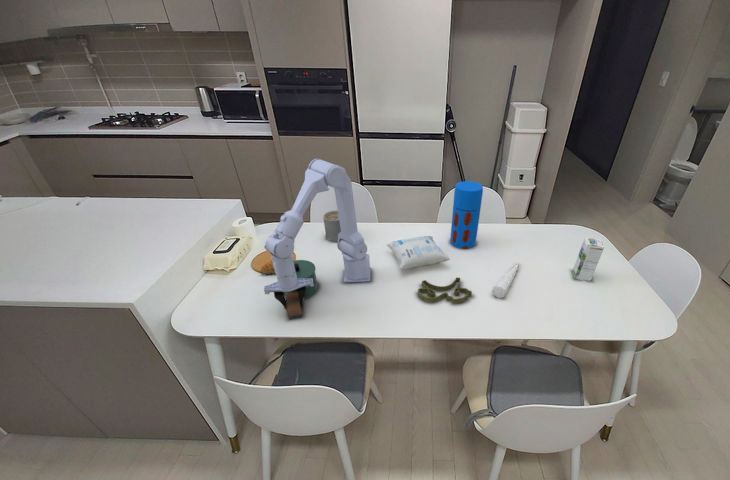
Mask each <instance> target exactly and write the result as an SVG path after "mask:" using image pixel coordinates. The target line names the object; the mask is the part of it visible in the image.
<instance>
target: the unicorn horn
mask: <svg viewBox="0 0 730 480" xmlns="http://www.w3.org/2000/svg"><path fill="white" fill-rule="evenodd" d="M518 269H519V263H516V264H515V265H514V266H513V267H512V268H511V269H509V270H508V272H506V274H504V276H502V277H501V279H499V281H498V282H496V284H495V285H494V286H493V287H492V289H491V292H492V294H493V296H495V297H496V298H499V299H502V298H504V297H505V296H506V295H507V293H508V292H509V288H510V287H511V285H512V283H513V280H514V278H515V275H516V273H517V271H518Z"/></svg>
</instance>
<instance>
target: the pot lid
mask: <svg viewBox="0 0 730 480" xmlns="http://www.w3.org/2000/svg"><path fill="white" fill-rule="evenodd" d="M293 262H294V267H295V271H296V275H297V278H305V279H307V278H309V277H311V276H312V275H313V274H314V272H315V273H316V265H315V264H314V263H313V262H312V261H310V260H305V259H295V260H293Z"/></svg>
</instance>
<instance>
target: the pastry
mask: <svg viewBox="0 0 730 480" xmlns="http://www.w3.org/2000/svg"><path fill="white" fill-rule="evenodd" d="M260 270H261V271H260V272H261V273H262V274H264V275H272V274H273V275H274V274H276V273H275V270H274V266H273V262H272V259H271V260H270V261H268V262H267V263H265V264H263V265H262V266H261V267H260Z"/></svg>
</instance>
